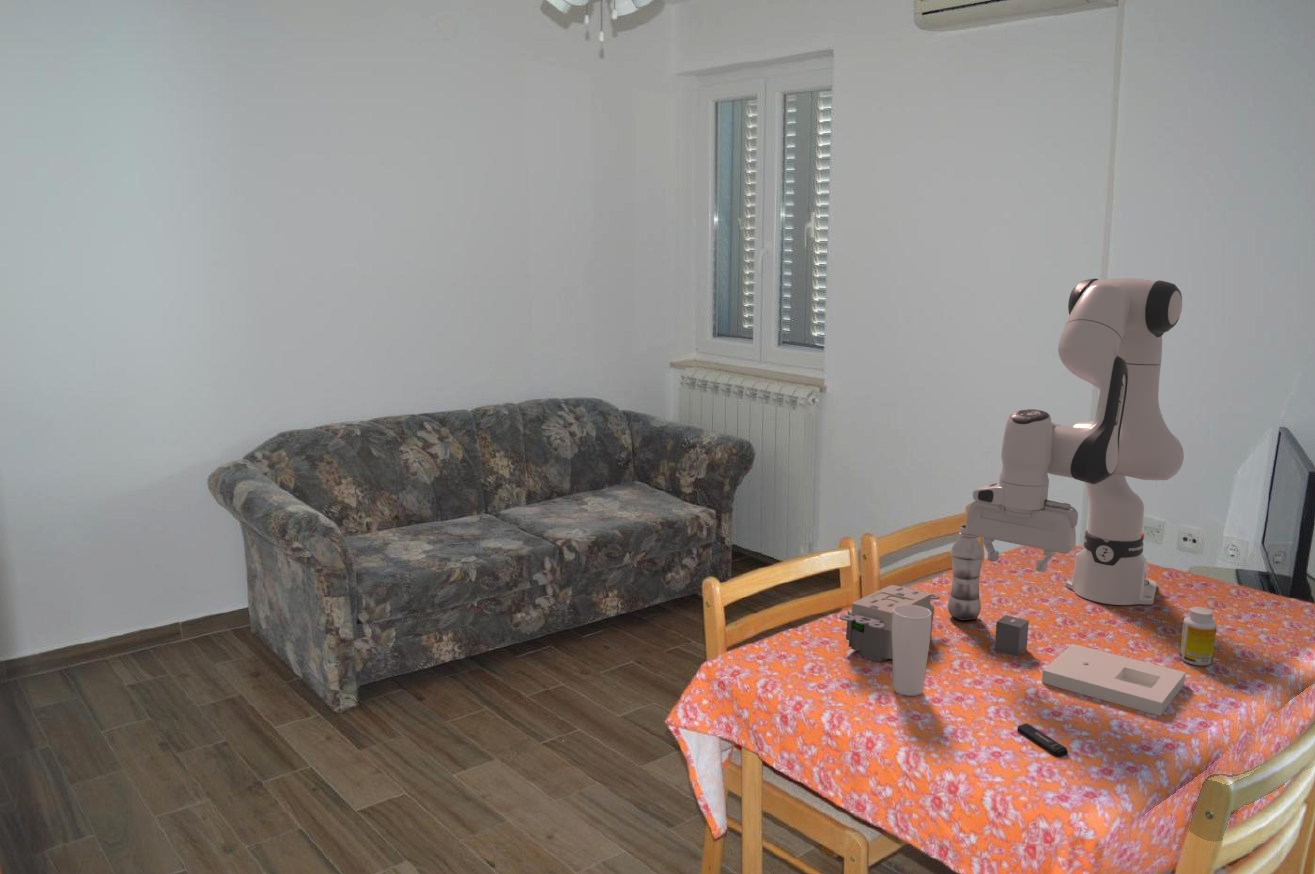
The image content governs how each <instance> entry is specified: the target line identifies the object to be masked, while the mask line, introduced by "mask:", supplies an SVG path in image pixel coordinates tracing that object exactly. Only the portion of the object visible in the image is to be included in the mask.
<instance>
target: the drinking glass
mask: <svg viewBox="0 0 1315 874" xmlns="http://www.w3.org/2000/svg"><path fill="white" fill-rule="evenodd" d="M931 626H932V627H933V623H932V613H931V611H930V610H929V609H927V608H925V607H922V606H917V605H899V606H896V607H895V608H894V609H893V615H892V630H891V632H892V659H891V660H892V689H893V690H894V692H896V693H897V694H899V695H902V696H906V697H916V696H920V695H921V694H922V693H923V691H924V686H925V685H924V684H925V676H926V668H927V662H928V656H929V649H930V642H931V639H930V637H931V638H932V635H931Z"/></svg>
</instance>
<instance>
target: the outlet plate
mask: <svg viewBox="0 0 1315 874" xmlns="http://www.w3.org/2000/svg"><path fill="white" fill-rule="evenodd" d="M1186 674H1187V673H1186V672H1185V671H1181V670H1178V669H1173V668H1170V667H1165V666H1161V665H1158V664H1153V663H1151V662H1150V663H1149V662H1146V661H1142V660H1138V659H1134V658H1129V657H1126V656H1122V655H1119V654H1115V653H1111V652H1106V651H1102V650H1098V649H1095V648H1090V647H1087V646H1083V645H1078V644H1076V643H1071V644H1070V646H1068V647H1067V648H1065V650H1064V651H1063V652H1061V653H1060V654H1059V655H1058V656H1057V657H1056V658H1055V659H1054V660H1052V661H1051V662H1050V663H1049V664H1048V665H1047V666H1046V667H1045V668H1044V669H1042V677H1041V683H1042V684H1045V685H1049V686H1052V687H1056V688H1059V689H1060V688H1061V689H1063V690H1065V691H1070V692H1074V693H1077V694H1081V695H1084V696H1087V697H1091V698H1095V699H1098V700H1101V701H1106V702H1109V703H1113V704H1117V705H1120V706H1124V707H1126V708H1130V709H1134V710H1137V711H1141V712H1144V713H1147V714H1148V713H1149V714H1151V715H1155V716H1159V717H1161V716H1162V715H1163V713H1165V710H1167V708H1168V707H1169V706H1170V704H1171V703H1172V702H1173V701H1174V699H1175V698H1176V696H1177V695H1178V694H1179V692H1180V691H1181V690H1182V688H1183V687H1184V686H1185V683H1186V682H1185V681H1186Z"/></svg>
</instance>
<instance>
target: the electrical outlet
mask: <svg viewBox="0 0 1315 874" xmlns="http://www.w3.org/2000/svg"><path fill="white" fill-rule="evenodd" d="M940 598H941V597H940V595H939V594H936V593H935V594H934V593H929V592H927V591H926V592H925V591H920V590H916V589H914V588H913V589H912V588H908V587H903V586H900V585H899V586H898V585H895V584H890V585H888V586H886V587H884V588H881V589H879V590H877V591H874V592H873V593H870V594H868V595H866V596H864V597H861V598H859V599H857V600H854V601H853V602H852V605H851V609H847V614H842V615H840V616H839V619H840V620H842V621H845V622H846V632H845V640H846V641H848V647H849V648H850V649H851V650H853V651H857V650H858V653H859V654H860V656H861V657H863V658H865V659H868V660H873V661H876V662H883V661H884V660H892V632H891V630H892V615H893V609H894V608H895V607H896V606H899V605H917V606H922V607H925V608H927V609H929V610H930V611H931V613H932V624H933V621H934V615H935V605H934V603H932V602H931V600H938V599H940ZM932 632H933V625H932V626H931V637H930V640H931V639H932Z"/></svg>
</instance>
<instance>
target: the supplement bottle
mask: <svg viewBox="0 0 1315 874" xmlns="http://www.w3.org/2000/svg"><path fill="white" fill-rule="evenodd" d="M1213 619H1214V612H1213V610H1211V609H1209V608H1207V607H1201V606H1193V607H1192V606H1191V607H1190V608H1189V611H1188V616H1186V617H1184V619H1183V624H1182V633H1181V642H1180V648H1179V649H1180V651H1179V658H1180V659H1181V660H1182V662H1185V663H1187V664H1190V665H1194V666H1201V667H1203V666H1209V665H1211V664H1212V663H1213V659H1214V651H1215V643H1216V642H1215V641H1216V633H1217V626H1218V625H1217V623H1216V622H1215V620H1213Z"/></svg>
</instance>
